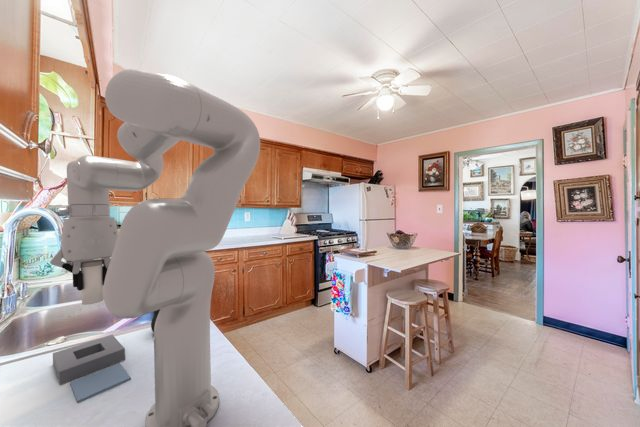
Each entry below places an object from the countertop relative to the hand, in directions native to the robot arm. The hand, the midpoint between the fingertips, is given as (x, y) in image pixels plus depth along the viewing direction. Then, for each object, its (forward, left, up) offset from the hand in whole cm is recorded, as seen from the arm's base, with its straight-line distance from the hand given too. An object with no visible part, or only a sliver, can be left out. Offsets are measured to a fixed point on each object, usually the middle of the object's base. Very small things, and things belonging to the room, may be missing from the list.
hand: (92, 286), depth 62 cm
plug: (0, 0, -4) cm, 4 cm away
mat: (-7, 0, -21) cm, 22 cm away
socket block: (+5, 0, -21) cm, 21 cm away
